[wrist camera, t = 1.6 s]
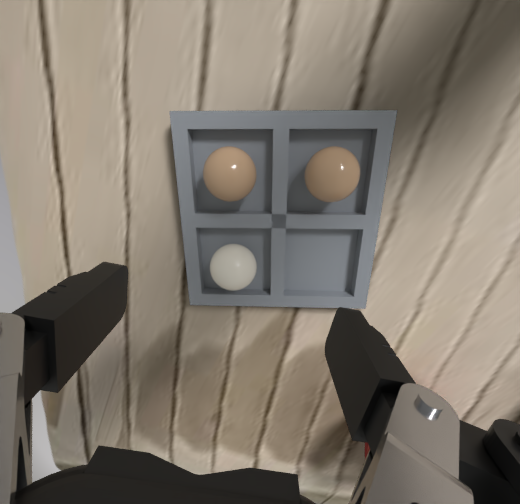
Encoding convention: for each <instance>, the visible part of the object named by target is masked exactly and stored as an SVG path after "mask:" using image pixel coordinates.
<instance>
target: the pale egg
mask: <svg viewBox="0 0 520 504" xmlns="http://www.w3.org/2000/svg"><path fill="white" fill-rule="evenodd" d="M256 271H257V263H256V259H255V257H254V255H253V253H252V252H251V251H250V250H249V249H248V248H246V247H245V246H243V245H240V244H227V245H224V246H222V247H220V248H219V249H218V250H217V251H216V252H215V253H214V254H213V256H212V258H211V261H210V273H211V276H212V278H213V280H214V281H215V283H216V284H217V285H219V286H220V287H221V288H223V289H226V290H231V291H236V290H240V289H243V288H245V287H247V286H248V285H249V284H250V283H251V282H252V281H253V279H254V277H255V275H256Z"/></svg>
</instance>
